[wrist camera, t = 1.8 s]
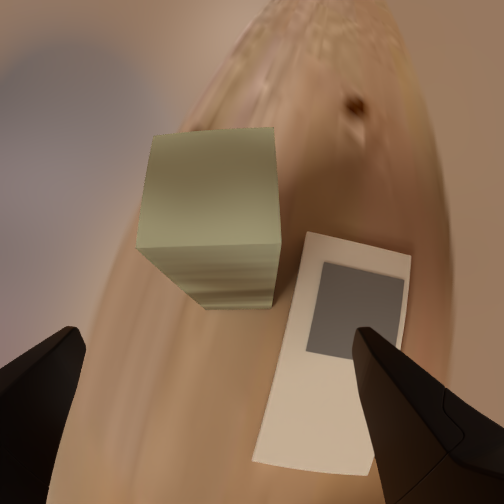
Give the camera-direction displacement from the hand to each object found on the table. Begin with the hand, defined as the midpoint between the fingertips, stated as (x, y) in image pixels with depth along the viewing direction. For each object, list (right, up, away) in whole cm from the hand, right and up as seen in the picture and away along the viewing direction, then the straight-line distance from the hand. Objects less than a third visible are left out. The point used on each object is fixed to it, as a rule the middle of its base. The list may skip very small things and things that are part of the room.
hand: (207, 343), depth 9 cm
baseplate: (+7, -4, +11) cm, 14 cm away
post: (0, +1, +13) cm, 13 cm away
